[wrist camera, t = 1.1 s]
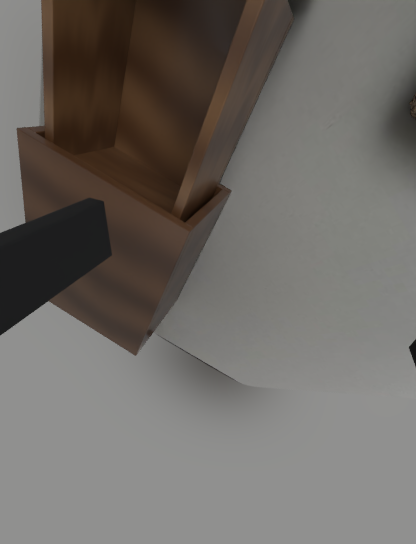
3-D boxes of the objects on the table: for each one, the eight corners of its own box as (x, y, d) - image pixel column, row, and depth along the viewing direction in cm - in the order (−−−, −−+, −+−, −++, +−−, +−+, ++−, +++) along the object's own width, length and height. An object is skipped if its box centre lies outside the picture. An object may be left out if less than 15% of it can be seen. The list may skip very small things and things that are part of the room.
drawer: (163, -267, 13) (-8, -665, 6) (387, -150, 13) (465, -444, 6) (108, 145, 27) (35, 160, 20) (215, 209, 26) (177, 246, 20)
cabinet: (112, 119, 26) (16, 127, 18) (231, 190, 26) (189, 232, 17) (94, 249, 38) (31, 290, 30) (176, 300, 37) (135, 356, 29)
